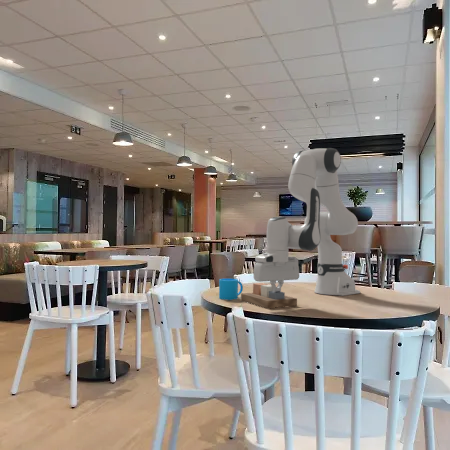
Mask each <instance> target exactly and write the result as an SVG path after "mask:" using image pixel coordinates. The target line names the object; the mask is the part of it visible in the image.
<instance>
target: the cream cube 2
mask: <svg viewBox="0 0 450 450" xmlns="http://www.w3.org/2000/svg"><path fill="white" fill-rule="evenodd" d="M270 291H273V287H272V286H271V284H268V285H261V296H264V297H269V292H270Z"/></svg>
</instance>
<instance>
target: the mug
mask: <svg viewBox="0 0 450 450" xmlns="http://www.w3.org/2000/svg"><path fill="white" fill-rule="evenodd" d="M218 284H219V285H218V286H219V287H218V289H219V290H218V298H219V300H226V301H227V300H229V301H233V299H234V300H238V299H237V298H238V297H239V296H241V293H242V292H243V290H244V286H243V283H242V282H241V281H239V279H237V278H219V281H218ZM239 286H240V290H239Z"/></svg>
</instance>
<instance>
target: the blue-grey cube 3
mask: <svg viewBox="0 0 450 450" xmlns="http://www.w3.org/2000/svg"><path fill="white" fill-rule="evenodd" d="M285 296H286V295H285V292H284V291H281V292H273V291H270V292H269V298H271V299H275V300H277V299H284V298H285Z"/></svg>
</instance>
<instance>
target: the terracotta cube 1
mask: <svg viewBox="0 0 450 450" xmlns="http://www.w3.org/2000/svg"><path fill="white" fill-rule="evenodd" d="M261 285H269V284H267V283H264V282H256V283H253V284H252V291H253V292H252V293H253V294H256V295H261Z"/></svg>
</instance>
